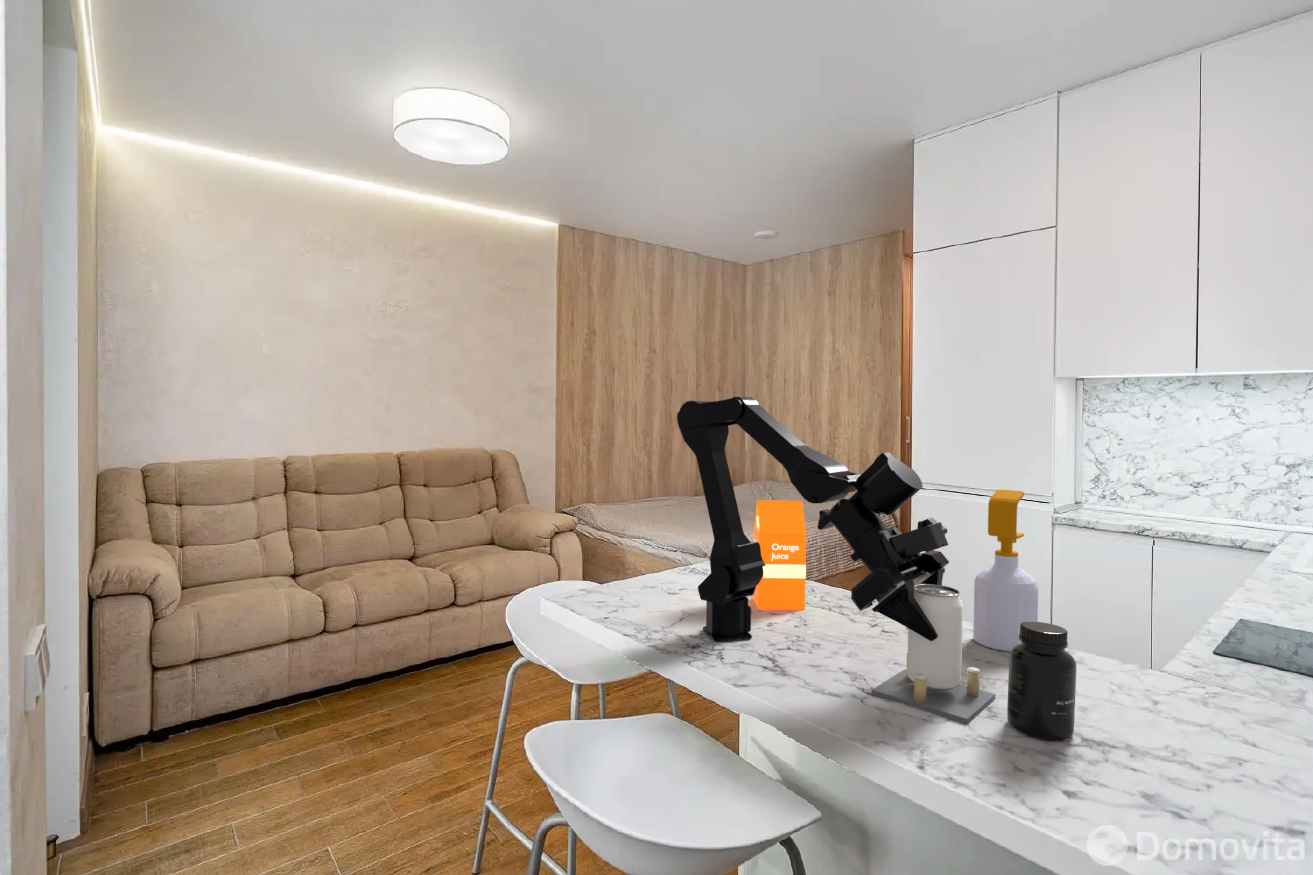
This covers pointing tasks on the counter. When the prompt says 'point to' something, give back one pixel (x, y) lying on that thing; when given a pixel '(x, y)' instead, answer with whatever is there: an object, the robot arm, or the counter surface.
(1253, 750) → the counter surface
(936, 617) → the can
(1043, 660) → the supplement bottle
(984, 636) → the soap bottle
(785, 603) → the orange juice
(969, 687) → the peg board
